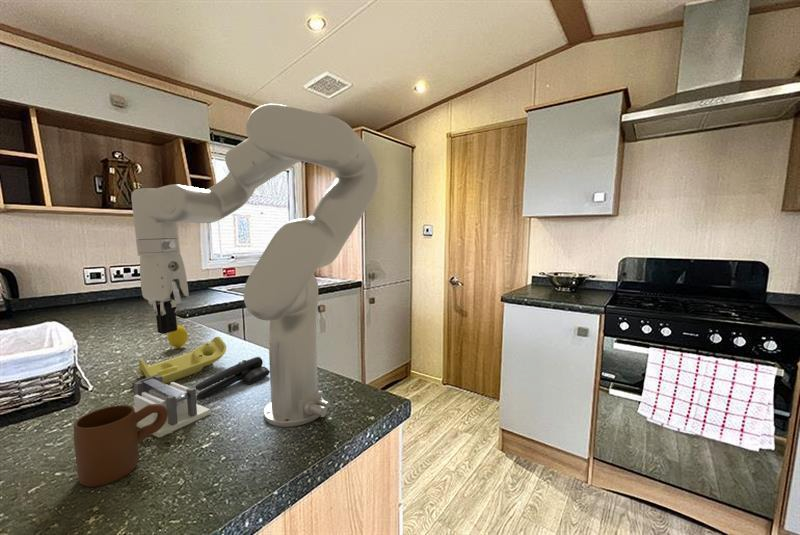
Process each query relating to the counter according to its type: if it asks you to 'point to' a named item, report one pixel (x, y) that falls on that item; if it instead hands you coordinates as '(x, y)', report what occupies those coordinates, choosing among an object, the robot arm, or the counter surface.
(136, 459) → the mug
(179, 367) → the plastic component
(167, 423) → the heatsink board
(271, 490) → the counter surface
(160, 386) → the grey long flat bar
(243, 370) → the can opener
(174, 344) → the lemon
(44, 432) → the counter surface
